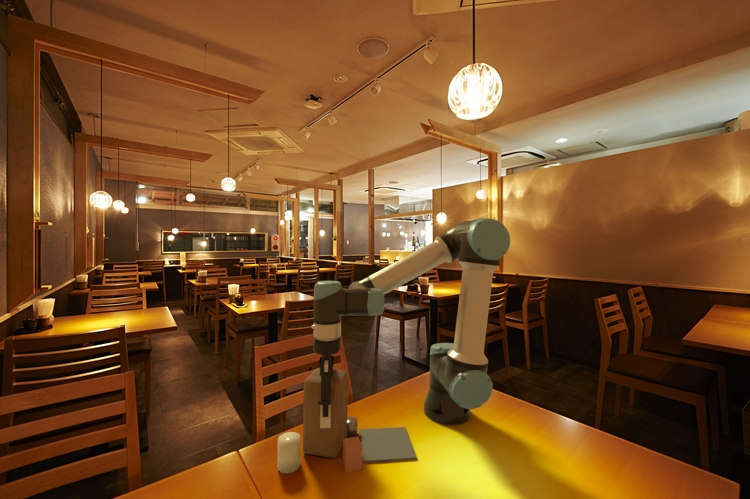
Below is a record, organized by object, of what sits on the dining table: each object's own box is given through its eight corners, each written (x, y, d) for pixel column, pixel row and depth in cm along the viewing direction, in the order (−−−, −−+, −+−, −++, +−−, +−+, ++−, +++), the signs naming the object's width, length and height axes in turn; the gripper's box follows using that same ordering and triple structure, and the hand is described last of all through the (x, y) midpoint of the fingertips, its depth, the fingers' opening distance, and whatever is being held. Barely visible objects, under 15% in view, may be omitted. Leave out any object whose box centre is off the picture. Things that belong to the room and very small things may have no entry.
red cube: (357, 459, 84) (358, 436, 84) (361, 469, 80) (362, 445, 80) (342, 461, 83) (343, 438, 83) (346, 472, 79) (346, 448, 79)
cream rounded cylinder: (301, 457, 84) (301, 431, 84) (298, 472, 79) (299, 444, 78) (279, 459, 83) (279, 432, 83) (275, 474, 78) (275, 446, 78)
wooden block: (337, 460, 83) (338, 384, 83) (301, 454, 85) (302, 380, 85) (348, 437, 93) (348, 369, 93) (315, 433, 95) (316, 366, 95)
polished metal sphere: (356, 429, 97) (357, 416, 97) (357, 438, 93) (358, 424, 93) (342, 430, 97) (342, 417, 97) (342, 439, 92) (342, 425, 92)
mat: (405, 428, 98) (405, 426, 98) (416, 459, 84) (416, 457, 84) (359, 431, 96) (359, 429, 96) (363, 463, 82) (363, 460, 82)
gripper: (315, 326, 100) (315, 394, 100) (309, 351, 76) (308, 441, 77) (340, 325, 101) (339, 393, 101) (341, 351, 77) (340, 440, 78)
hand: (326, 414), depth 89 cm, fingers closed on wooden block, 11 cm apart
